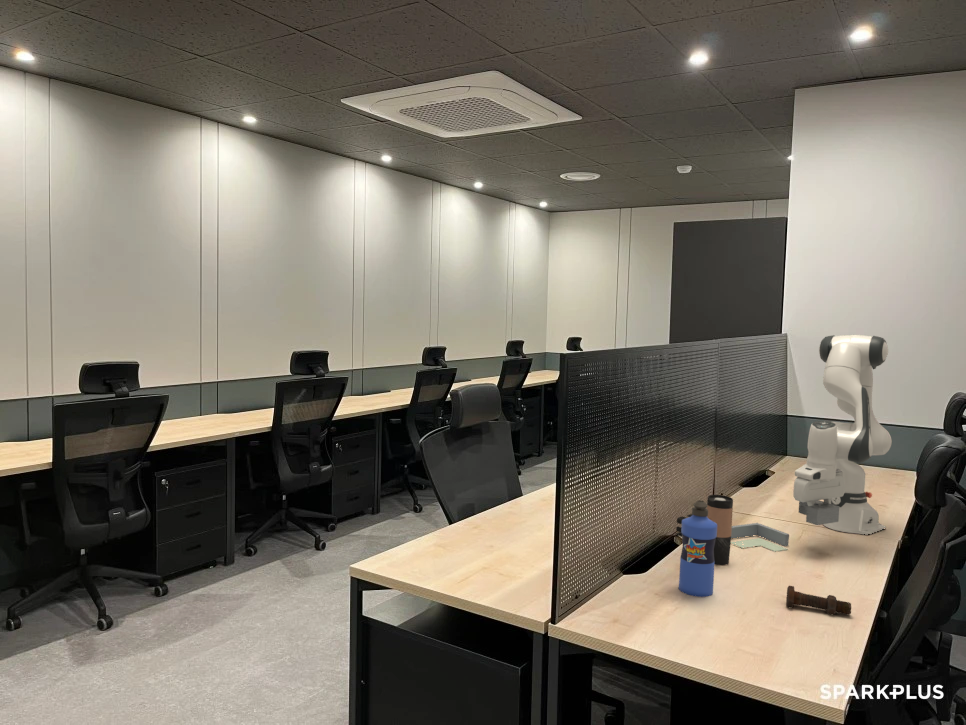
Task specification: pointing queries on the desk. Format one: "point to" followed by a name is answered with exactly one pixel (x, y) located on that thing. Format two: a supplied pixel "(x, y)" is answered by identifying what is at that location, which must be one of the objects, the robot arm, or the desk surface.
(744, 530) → the corner walls
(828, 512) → the bracket
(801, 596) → the bolt
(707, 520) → the water bottle
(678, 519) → the end cap
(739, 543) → the mat
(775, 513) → the desk surface
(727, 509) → the travel mug
